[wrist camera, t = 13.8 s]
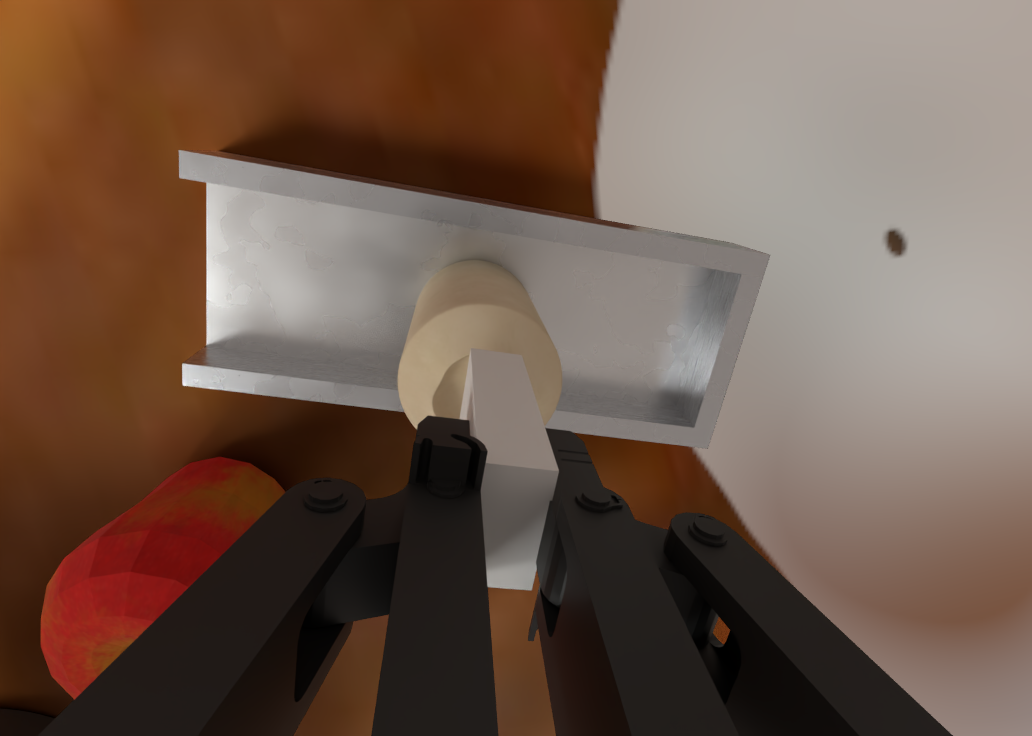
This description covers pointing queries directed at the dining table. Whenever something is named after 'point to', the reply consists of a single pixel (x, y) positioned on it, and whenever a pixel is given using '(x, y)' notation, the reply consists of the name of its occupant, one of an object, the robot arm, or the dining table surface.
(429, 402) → the candle
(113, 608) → the apple
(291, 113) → the dining table surface
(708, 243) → the gray tray
